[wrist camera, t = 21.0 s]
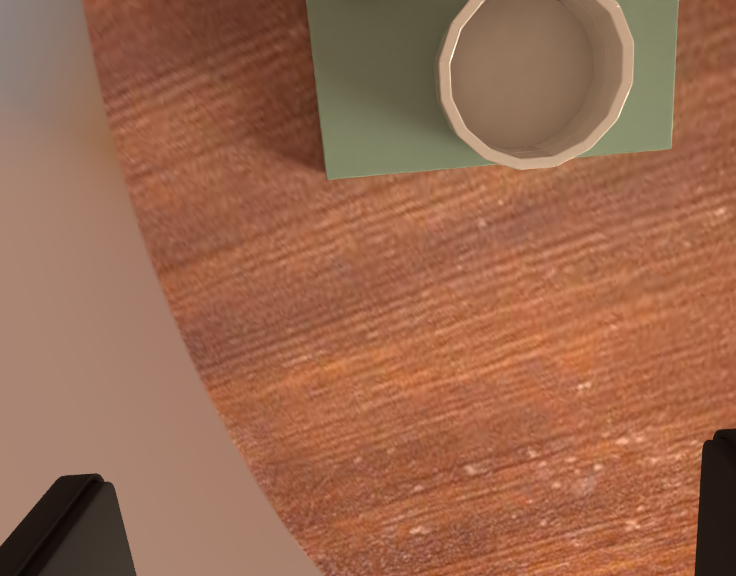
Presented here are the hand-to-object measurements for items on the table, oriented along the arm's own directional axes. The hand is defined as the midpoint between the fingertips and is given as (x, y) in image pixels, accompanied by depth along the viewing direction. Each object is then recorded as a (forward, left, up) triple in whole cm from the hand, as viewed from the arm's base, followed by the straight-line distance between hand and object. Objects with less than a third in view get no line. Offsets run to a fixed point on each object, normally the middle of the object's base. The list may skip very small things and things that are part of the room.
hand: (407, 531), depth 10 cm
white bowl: (+6, +7, -22) cm, 24 cm away
